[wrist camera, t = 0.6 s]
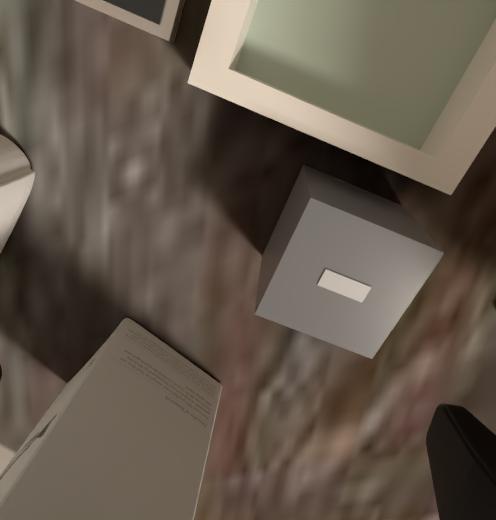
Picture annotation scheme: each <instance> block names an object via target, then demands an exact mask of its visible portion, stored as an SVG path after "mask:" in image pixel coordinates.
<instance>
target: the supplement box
mask: <svg viewBox="0 0 496 520" xmlns="http://www.w3.org/2000/svg"><path fill="white" fill-rule="evenodd" d="M221 389H222V385H221V384H220V383H218V382H217V381H216V380H214V379H213V378H212V377H210V376H209V375H208V374H206V373H205V372H204V371H202V370H201V369H199V368H198V367H197V366H195V365H194V364H192V363H191V362H190V361H189V360H187V359H186V358H184V357H183V356H182V355H180V354H179V353H177V352H176V351H175V350H174V349H172V348H171V347H169V346H168V345H167V344H165V343H164V342H162V341H161V340H160V339H158V338H157V337H156V336H154V335H153V334H151V333H150V332H148V331H147V330H146V329H144V328H143V327H142V326H140V325H139V324H137V323H136V322H134V321H133V320H131V319H129V318H124V319H123V320H122V322H121V323H120V324H119V326H118V327H117V328H116V329H115V331H114V332H113V333H112V334H111V336H110V337H109V338H108V339H107V340H106V342H105V343H104V344H103V345H102V346H101V347H100V349H99V350H98V351H97V352H96V353H95V354H94V355H93V356H92V357H91V359H90V360H89V361H88V362H87V363H86V364H85V365H84V366H83V368H82V369H81V370H80V371H79V372H78V373H77V374H76V375H75V376H74V377H73V378H72V379H71V380H70V381H69V382H68V383H67V384H66V385H65V387H64V388H63V389H62V391H61V392H60V394H59V395H58V396H57V398H56V399H55V401H54V402H53V403H52V405H51V406H50V408H49V409H48V410H47V412H46V413H45V414H44V416H43V417H42V418H41V420H40V421H39V423H38V424H37V425H36V427H35V428H34V429H33V431H32V432H31V434H30V435H29V436H28V438H27V439H26V440H25V442H24V443H23V445H22V446H21V447H20V449H19V450H18V451H17V453H16V454H15V456H14V457H13V458H12V460H11V461H10V463H9V464H8V465H7V467H6V468H5V469H4V471H3V472H2V473H1V475H0V520H194V516H195V511H196V506H197V502H198V497H199V492H200V488H201V483H202V479H203V474H204V469H205V464H206V459H207V455H208V450H209V445H210V440H211V436H212V431H213V427H214V422H215V418H216V413H217V408H218V403H219V398H220V394H221Z"/></svg>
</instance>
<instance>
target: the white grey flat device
mask: <svg viewBox="0 0 496 520" xmlns="http://www.w3.org/2000/svg"><path fill="white" fill-rule="evenodd" d="M188 83H189V84H191V85H193V86H196V87H198V88H200V89H203V90H205V91H207V92H210V93H212V94H214V95H217V96H219V97H221V98H224V99H226V100H228V101H231V102H233V103H236V104H238V105H240V106H243V107H245V108H247V109H250V110H252V111H254V112H257V113H259V114H261V115H264V116H266V117H268V118H271V119H273V120H275V121H278V122H280V123H282V124H285V125H287V126H289V127H292V128H294V129H296V130H299V131H301V132H303V133H306V134H308V135H311V136H313V137H315V138H318V139H320V140H322V141H325V142H327V143H329V144H332V145H334V146H336V147H339V148H341V149H343V150H346V151H348V152H350V153H353V154H355V155H357V156H360V157H362V158H364V159H367V160H369V161H371V162H374V163H376V164H378V165H381V166H383V167H386V168H388V169H390V170H393V171H395V172H397V173H400V174H402V175H404V176H407V177H409V178H411V179H414V180H416V181H418V182H421V183H423V184H425V185H428V186H430V187H432V188H435V189H437V190H439V191H442V192H444V193H446V194H449V195H452V193H453V192H454V190H455V189H456V187H457V185H458V184H459V182H460V181H461V179H462V178H463V176H464V175H465V173H466V172H467V170H468V168H469V167H470V165H471V164H472V162H473V161H474V159H475V158H476V156H477V154H478V153H479V151H480V150H481V148H482V147H483V145H484V144H485V142H486V141H487V139H488V137H489V136H490V134H491V133H492V131H493V130H494V128H495V127H496V0H212V1H211V4H210V8H209V11H208V15H207V18H206V21H205V25H204V28H203V32H202V35H201V39H200V42H199V45H198V49H197V52H196V56H195V59H194V62H193V66H192V69H191V73H190V76H189V80H188Z"/></svg>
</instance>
